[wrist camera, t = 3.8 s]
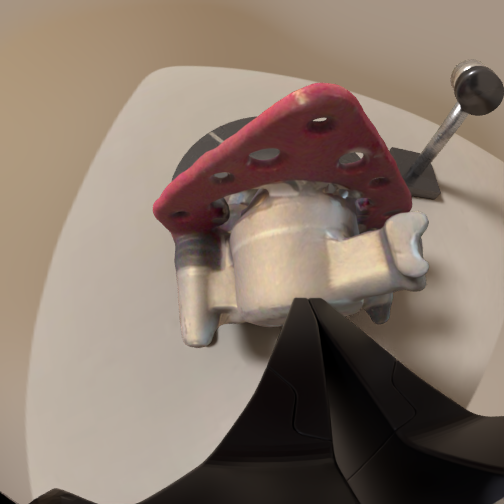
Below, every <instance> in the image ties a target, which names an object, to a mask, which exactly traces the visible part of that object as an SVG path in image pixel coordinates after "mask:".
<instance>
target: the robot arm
mask: <svg viewBox="0 0 504 504" xmlns="http://www.w3.org/2000/svg"><path fill="white" fill-rule="evenodd" d="M0 504H18V503H17V502H15V501H14V500H12V499H11V498H10V497H8V496H7V495H5V494H4V493H2V492H1V491H0ZM29 504H97V503H94V502H92V501H89V500H87V499H84V498H82V497H79V496H77V495H74V494H72V493H70V492H67V491H64V490H61V489H58V488H54V489H52V490H50V491H48V492H46V493H45V494H43V495H41V496H39V497H38V498H36V499H34V500H33V501H32V502H31V503H29ZM136 504H504V416H499V417H486V416H480V415H476V414H474V413H472V412H470V411H468V410H466V409H464V408H463V407H461V406H460V405H459V404H457V403H456V402H454V401H453V400H451V399H450V398H448V397H447V396H445V395H444V394H442V393H441V392H439V391H438V390H436V389H435V388H433V387H432V386H430V385H429V384H428V383H426V382H425V381H423V380H422V379H421V378H419V377H418V376H417V375H415V374H414V373H413V372H412V371H410V370H409V369H408V368H407V367H405V366H404V365H403V364H402V363H401V362H399V361H396V358H394V357H393V356H392V355H391V354H390V353H388V352H387V351H386V350H385V349H383V348H382V347H381V346H380V345H379V344H377V343H376V342H375V341H374V340H373V339H371V338H370V337H369V336H368V335H366V334H365V333H364V332H363V331H362V330H360V329H359V328H358V327H357V326H355V325H354V324H353V323H352V322H351V321H349V320H348V319H347V318H346V317H344V316H343V315H342V314H341V313H340V312H338V311H337V310H336V309H335V308H333V307H332V306H331V305H330V304H328V303H327V302H326V301H325V300H324V299H322V298H308V299H307V298H297V297H296V298H294V299H293V301H292V304H291V306H290V309H289V312H288V314H287V317H286V320H285V322H284V325H283V327H282V330H281V332H280V335H279V337H278V340H277V342H276V345H275V347H274V350H273V352H272V355H271V357H270V360H269V362H268V365H267V367H266V369H265V371H264V374H263V376H262V378H261V381H260V383H259V385H258V387H257V389H256V391H255V393H254V394H253V396H252V398H251V399H250V401H249V403H248V404H247V406H246V408H245V409H244V411H243V412H242V413H241V415H240V416H239V418H238V419H237V421H236V422H235V423H234V425H233V426H232V428H231V429H230V430H229V432H228V433H227V435H226V436H225V437H224V439H223V440H222V441H221V443H220V444H219V445H218V446H217V448H216V449H215V450H214V451H213V452H212V454H211V455H210V456H209V457H208V458H207V459H206V460H205V461H204V462H203V463H202V464H200V465H199V466H198V467H196V468H195V469H193V470H192V471H190V472H189V473H187V474H186V475H184V476H183V477H181V478H180V479H178V480H177V481H175V482H174V483H172V484H170V485H169V486H167V487H166V488H164V489H162V490H161V491H159V492H157V493H156V494H154V495H152V496H150V497H149V498H147V499H145V500H143V501H141V502H139V503H136Z"/></svg>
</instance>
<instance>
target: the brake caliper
mask: <svg viewBox="0 0 504 504" xmlns="http://www.w3.org/2000/svg"><path fill="white" fill-rule="evenodd" d="M318 118H327V119H326V120H325V121H312V120H315V119H318ZM268 148H275V149H278V150H279V151H280V153H279V154H278V155H277V156H276V157H274V158H272V159H268V160H258V159H254V158H252V157H250V156H249V154H250V153H252V152H255V151H258V150H261V149H268ZM352 152H359V153H363V154H364V156H363V158H362V159H361V160H359V161H356V162H353V163H348V164H341V163H340V162H339V159H340V158H341V157H342V156H343V155H345V154H348V153H352ZM217 173H227V176H225V177H223V178H218V177H215V176H213V175H214V174H217ZM329 184H333V185H334V187H335V188H336V191H335V192H334V193H329ZM339 189H345V192H344V193H343V194H342V195H340V194H339ZM411 208H412V197H411V193H410V190H409V189H408V187H407V185H406V183H405V181H404V179H403V178H402V176H401V174H400V171H399V169H398V167H397V163H396V161H395V159H394V158H393V157H392V155H391V154H390V152H389V150H388V148H387V146H386V144H385V142H384V140H383V139H382V138H381V137H380V135H379V134H378V131H377V130H376V128H375V127H374V125H373V124H372V122H371V121H370V119H369V118H368V117H367V115H366V114H365V112H364V111H363V108H362V106H361V105H360V103H359V101H358V100H357V98H356V97H355V96H354V95H353V94H352V93H350V92H349V91H348V90H346V89H345V88H343V87H341V86H339V85H335V84H329V83H315V84H311V85H309V86H306V87H304V88H301V89H298V90H296V91H294V92H292V93H290V94H289V95H287V96H286V97H284V98H283V99H281V100H280V101H278V102H276V103H275V104H274V105H273V106H271V107H270V108H268V109H267V110H265V111H264V112H263V113H262V114H260V115H259V116H258V117H256V118H255V119H254V120H252V121H251V122H249V123H248V124H247V125H245V126H244V127H243V128H242V129H240V130H239V131H238V132H237V133H235V134H234V135H232V136H231V137H229V138H228V139H226V140H225V141H224V142H222V143H221V144H220V145H219V146H218V147H216V148H215V149H213V150H210V151H208V152H206V153H205V154H203V155H202V156H201V157H200V158H199V159H198V160H197V161H196V162H195V163H194V164H193V165H192V166H191V167H190V168H188V169H187V170H186V171H184V172H183V173H181V174H179V175H178V176H177V177H176V178H175V179H174V180H173V181H172V182H171V183H170V184H169V185H168V186H167V187H166V188H165V190H164V191H163V193H162V194H161V196H160V198H159V199H157V200H156V201H155V203H154V205H153V213H154V215H155V217H156V219H157V220H159V221H160V222H161V223H162V224H163V225H164V226H165V227H166V228H167V229H168V230H169V231H170V232H171V234H172V237H173V239H174V242H175V247H176V250H175V267H176V276H177V285H178V302H179V312H180V324H181V332H182V338H183V342H184V343H185V344H186V345H188V346H190V347H195V348H202V347H205V346H207V345H208V344H209V343H211V341H212V338H213V335H214V332H215V331H216V329H217V328H218V327H219V326H221V325H223V324H233V323H234V324H242V323H245V322H249V323H252V324H255V325H259V326H263V327H277V326H283V325H284V322H285V320H286V317H287V314H288V312H289V309H290V306H291V304H292V301H293V299H294V298H296V297H297V298H307V299H308V298H322V299H324V300H325V301H326V302H327V303H328V304H330V305H331V306H332V307H333V308H335V309H336V310H337V311H338V312H340V313H341V314H342V315H343V316H344V317H346V316H348V315H353V314H355V313H357V312H358V311H359V310H360V309H361V308H363V309H364V310H365V311H366V312H367V313H368V314H369V315H370V317H371V319H372V321H373V322H374V323H376V324H383V323H385V322H386V321H387V320H388V319H389V316H390V307H391V304H392V300H393V293H392V292H395V291H399V290H409V291H421V290H423V289H424V288H425V286H426V276H425V274H426V273H427V271H428V269H429V264H428V262H427V261H426V260H424V259H423V247H422V239H421V236H422V234H423V233H424V232H425V230H426V229H427V227H428V224H429V221H428V218H427V216H426V215H425V214H424V213H422V212H420V211H411V212H410V210H411Z"/></svg>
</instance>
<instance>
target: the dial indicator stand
mask: <svg viewBox="0 0 504 504" xmlns="http://www.w3.org/2000/svg"><path fill="white" fill-rule="evenodd" d="M451 86H452V88H453V90H454V94H455V97H456V99H457V103H456V104H455V106H454V107H453V109H452V110H451V112H450V113H449V115H448V116H447V118H446V119H445V120H444V122H443V123H442V125H441V126H440V128H439V129H438V130H437V132H436V133H435V135H434V136H433V137H432V139H431V140H430V142H429V143H428V144H427V146H426V147H425V148H424V150H423V151H422V152H421V154H420V153H416V152H412V151H407V150H403V149H398V148H393V147H392V148H391V149H390V151H389V152H390V154H391V155H392V157H393V158H394V159H395V161H396V163H397V167H398V169H399V171H400V174H401V176H402V178H403V179H404V181H405V183H406V185H407V187H408V189H409V190H410V193H411V196H416V197H422V198H429V199H435V198H436V197H437V196H438V195H439V194H440V189H439V186H438V183H437V180H436V177H435V174H434V171H433V168H432V165H431V162H432V161H433V160H434V159H435V157H436V156H437V155H438V154H439V152H440V151H441V150H442V149H443V147H444V146H445V145H446V143H447V142H448V141H449V140H450V138H451V137H452V136H453V134H454V133H455V132H456V130H457V129H458V128H459V127H460V125H461V124H462V123H463V121H464V120H465V118H466V117H467V116H468V114H471V115H476V116H480V115H485V114H488V113H490V112H492V111H494V110H495V109H496V108H497V107H498V106H499V105H500V103H501V102H502V99H503V96H504V87H503V84H502V82H501V80H500V79H499V78H498V76H497V75H496V74H495V73H494V72H493V71H492V70H491V69H489V68H488V67H486V66H485V65H484V64H483V63H481V62H480V61H477V60H465V61H463V62H461V63H459V64H458V65H457V66H456V67H455V68H454V70H453V71H452V74H451Z"/></svg>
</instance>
